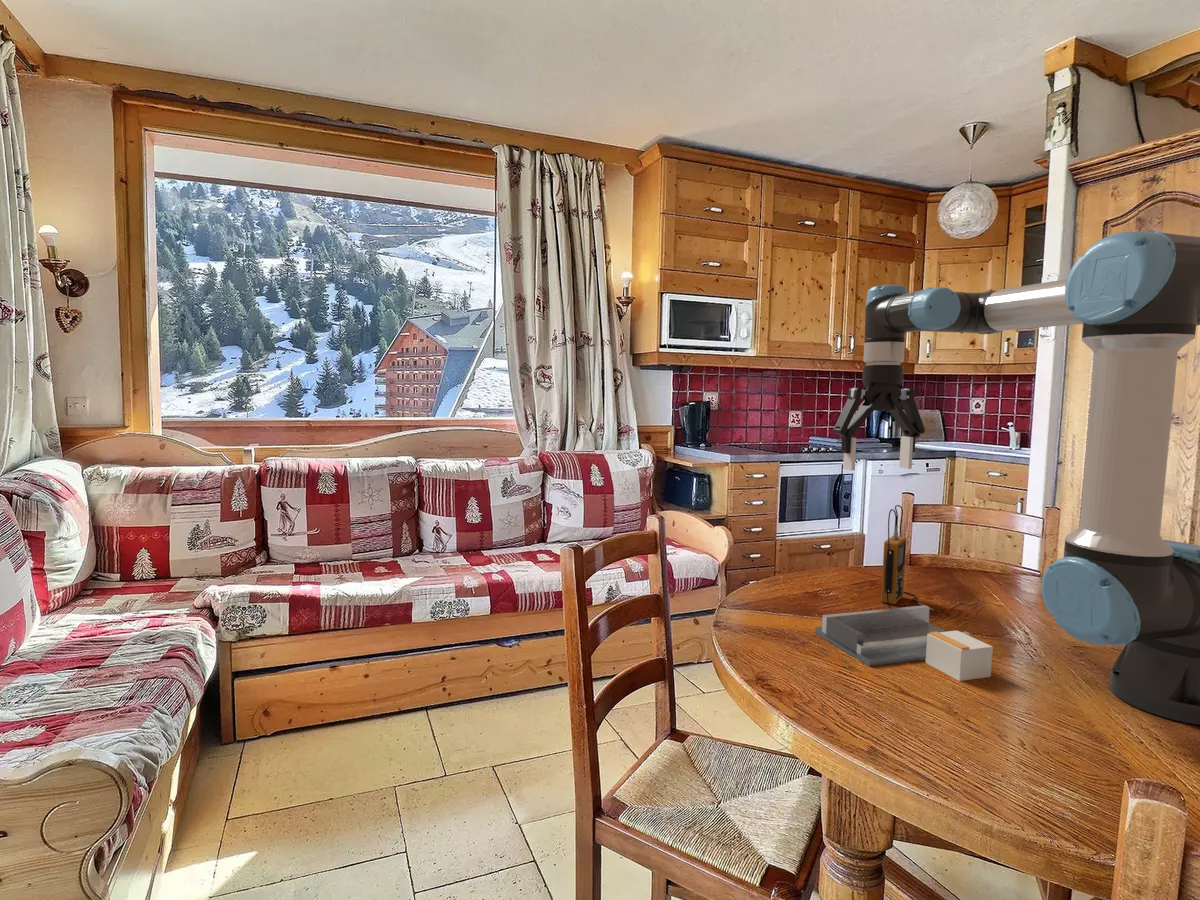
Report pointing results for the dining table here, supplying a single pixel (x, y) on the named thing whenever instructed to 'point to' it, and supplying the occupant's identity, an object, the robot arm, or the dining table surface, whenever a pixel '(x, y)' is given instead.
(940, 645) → the block
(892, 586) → the multimeter
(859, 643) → the rail base
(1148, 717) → the dining table surface
